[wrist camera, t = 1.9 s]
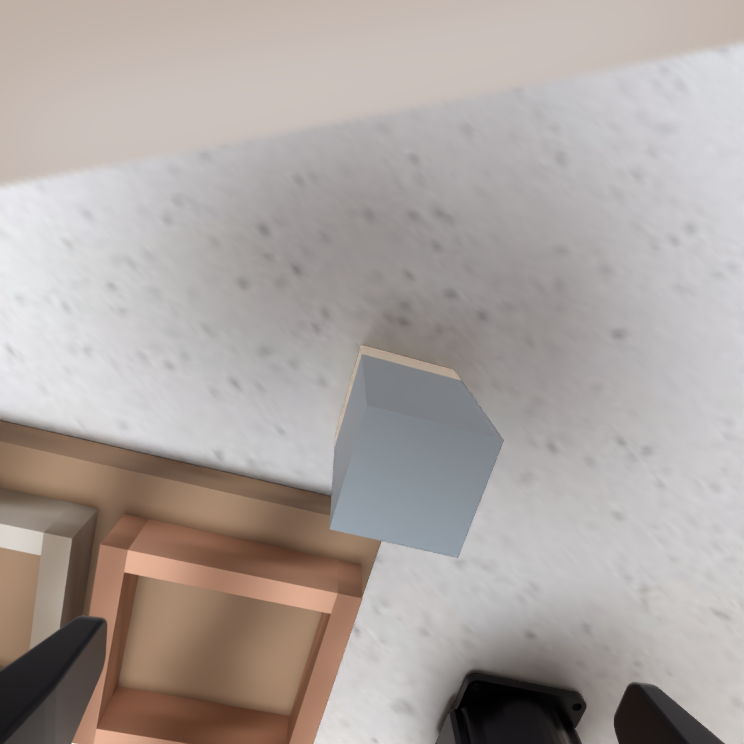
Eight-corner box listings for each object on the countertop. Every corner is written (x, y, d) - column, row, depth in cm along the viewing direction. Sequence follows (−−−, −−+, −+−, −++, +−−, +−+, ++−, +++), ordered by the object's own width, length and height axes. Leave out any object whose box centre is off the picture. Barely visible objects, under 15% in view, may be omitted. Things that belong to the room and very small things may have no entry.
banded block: (453, 369, 21) (503, 440, 14) (424, 454, 22) (457, 557, 15) (361, 344, 20) (366, 405, 14) (335, 432, 21) (329, 529, 15)
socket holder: (383, 508, 22) (389, 558, 19) (307, 736, 26) (301, 811, 23) (-149, 386, 20) (-250, 419, 16) (-149, 658, 23) (-231, 731, 20)
